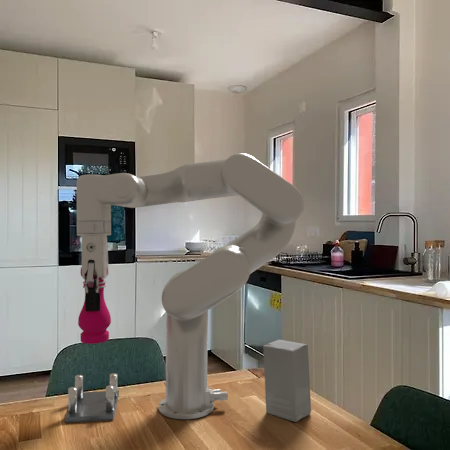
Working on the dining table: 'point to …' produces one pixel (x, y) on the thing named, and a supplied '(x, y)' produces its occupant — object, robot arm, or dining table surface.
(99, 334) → the pepper mill
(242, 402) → the dining table surface
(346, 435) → the dining table surface
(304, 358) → the skincare box
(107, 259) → the robot arm
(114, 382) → the stand
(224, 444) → the dining table surface
